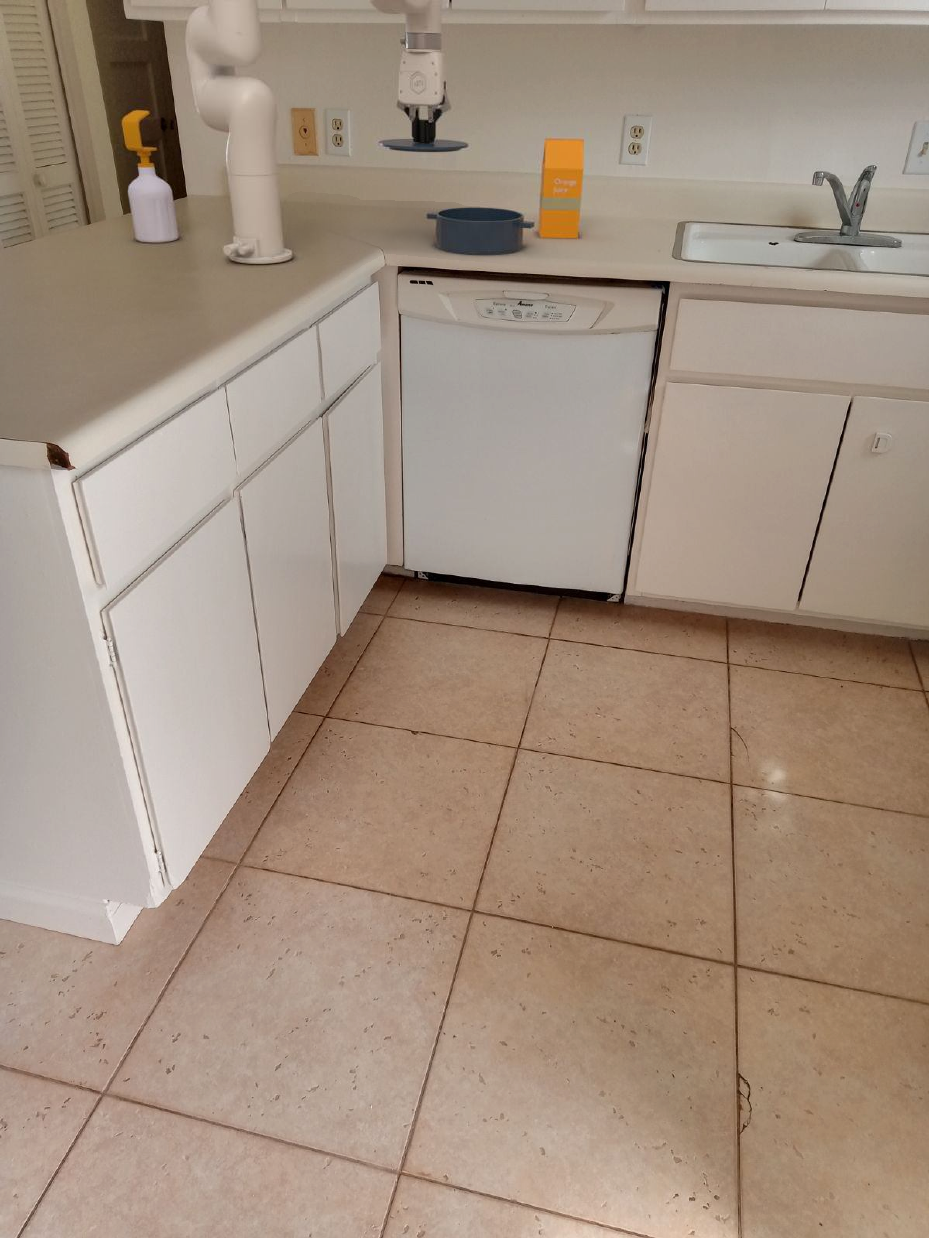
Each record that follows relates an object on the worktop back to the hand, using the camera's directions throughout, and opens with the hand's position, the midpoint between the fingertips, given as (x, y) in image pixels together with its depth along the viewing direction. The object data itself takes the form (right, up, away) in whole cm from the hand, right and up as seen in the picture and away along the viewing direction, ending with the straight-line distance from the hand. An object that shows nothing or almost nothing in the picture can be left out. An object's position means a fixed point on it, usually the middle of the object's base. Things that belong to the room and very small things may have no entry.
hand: (423, 141), depth 198 cm
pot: (+12, -24, -2) cm, 27 cm away
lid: (0, -1, 0) cm, 1 cm away
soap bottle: (-58, -23, -3) cm, 63 cm away
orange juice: (+31, -16, +12) cm, 37 cm away
